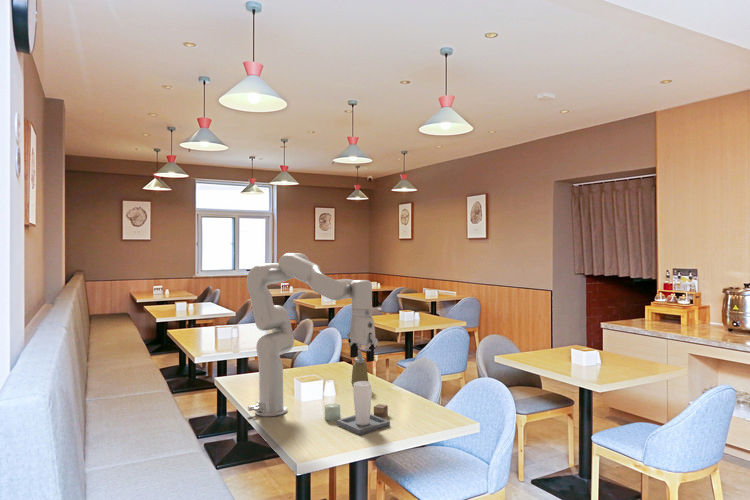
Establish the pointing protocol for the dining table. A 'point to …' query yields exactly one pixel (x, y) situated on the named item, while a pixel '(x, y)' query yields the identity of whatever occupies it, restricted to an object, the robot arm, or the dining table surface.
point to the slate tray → (374, 425)
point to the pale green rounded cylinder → (332, 412)
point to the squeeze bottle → (359, 370)
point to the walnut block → (381, 410)
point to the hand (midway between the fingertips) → (362, 359)
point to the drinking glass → (362, 402)
